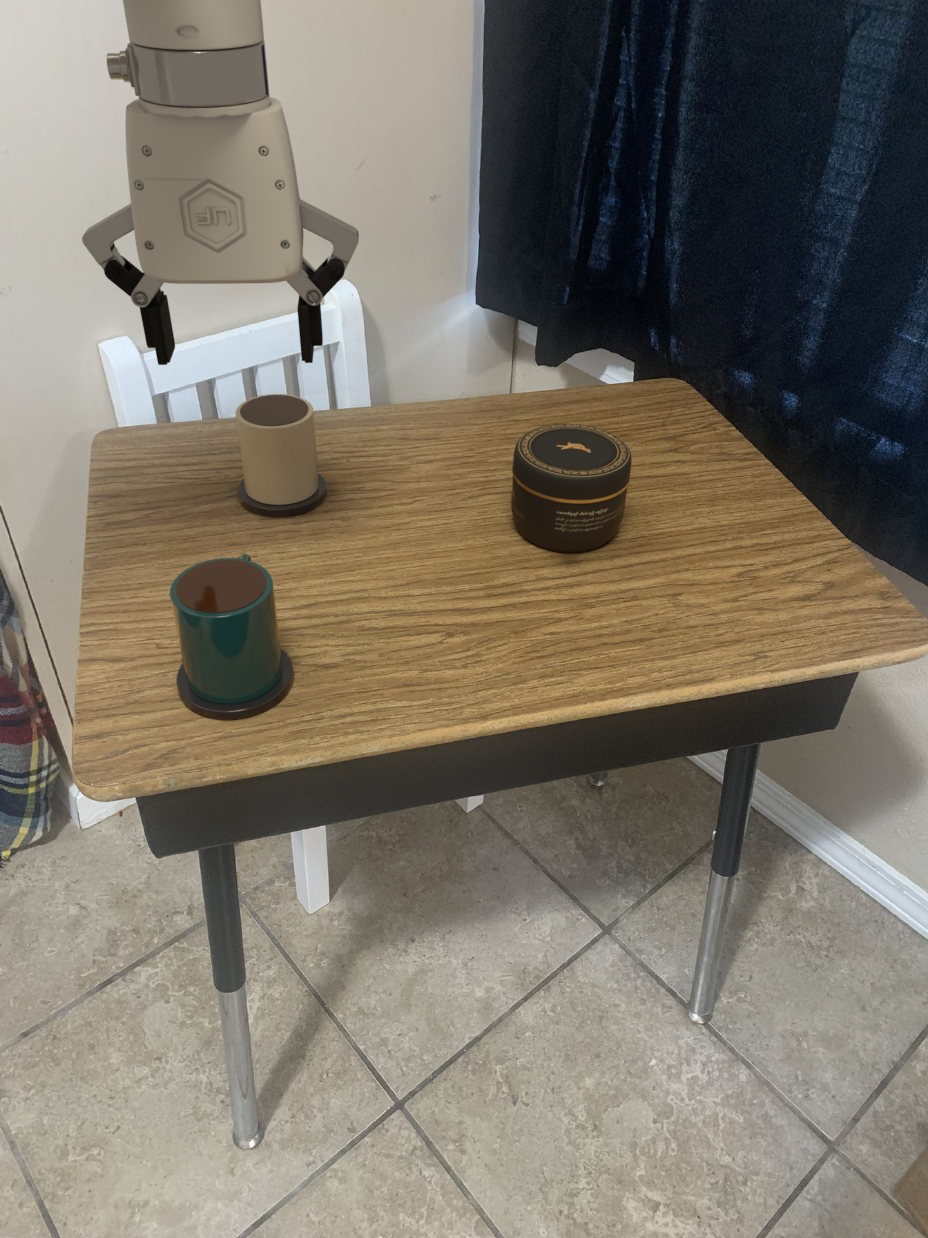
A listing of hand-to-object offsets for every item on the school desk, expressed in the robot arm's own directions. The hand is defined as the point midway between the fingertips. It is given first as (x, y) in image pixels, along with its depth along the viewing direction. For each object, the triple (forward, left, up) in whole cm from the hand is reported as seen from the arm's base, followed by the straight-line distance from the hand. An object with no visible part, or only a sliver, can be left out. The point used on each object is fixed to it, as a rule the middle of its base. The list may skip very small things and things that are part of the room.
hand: (238, 355), depth 68 cm
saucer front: (-3, -13, -19) cm, 23 cm away
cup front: (-2, -11, -18) cm, 21 cm away
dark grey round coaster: (+2, +12, -19) cm, 23 cm away
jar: (+26, +3, -19) cm, 33 cm away
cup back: (+2, +14, -18) cm, 23 cm away
